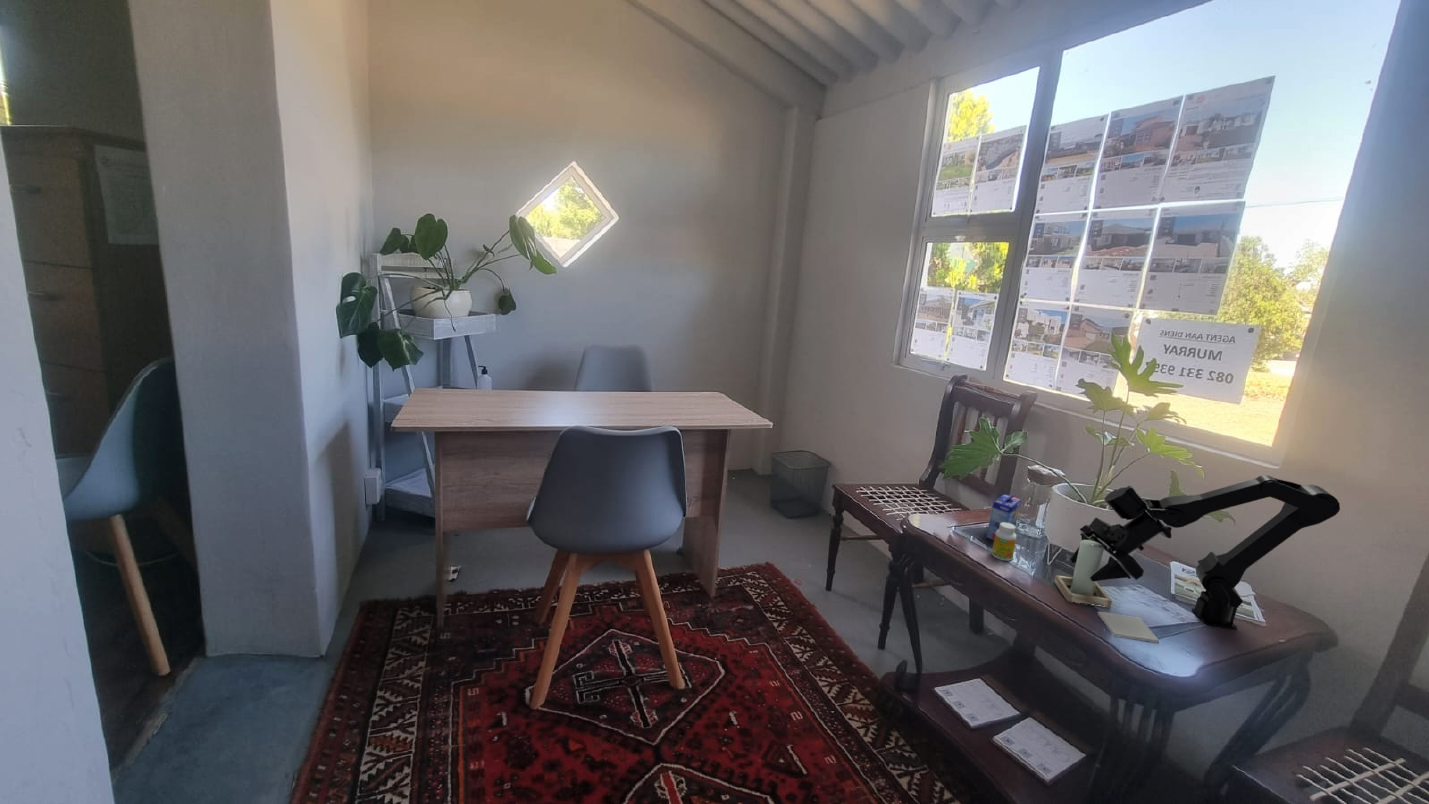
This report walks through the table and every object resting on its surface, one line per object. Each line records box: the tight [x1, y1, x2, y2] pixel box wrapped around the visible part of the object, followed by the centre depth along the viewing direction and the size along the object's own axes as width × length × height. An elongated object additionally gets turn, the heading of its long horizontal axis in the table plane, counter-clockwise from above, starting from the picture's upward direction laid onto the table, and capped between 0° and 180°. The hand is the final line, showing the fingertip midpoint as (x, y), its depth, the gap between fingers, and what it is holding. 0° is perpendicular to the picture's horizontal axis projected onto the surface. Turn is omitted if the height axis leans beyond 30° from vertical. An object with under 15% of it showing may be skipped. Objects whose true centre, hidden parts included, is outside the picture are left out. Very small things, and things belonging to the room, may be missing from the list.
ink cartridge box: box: [985, 492, 1022, 541], centre depth 178 cm, size 10×6×14 cm, turn 136°
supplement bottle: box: [991, 522, 1017, 562], centre depth 165 cm, size 5×5×10 cm
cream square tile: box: [1097, 611, 1160, 644], centre depth 135 cm, size 9×9×1 cm
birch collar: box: [1053, 575, 1113, 609], centre depth 148 cm, size 10×10×2 cm
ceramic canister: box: [1069, 540, 1105, 597], centre depth 147 cm, size 5×5×14 cm
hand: (1080, 570), depth 147 cm, fingers open, 9 cm apart
